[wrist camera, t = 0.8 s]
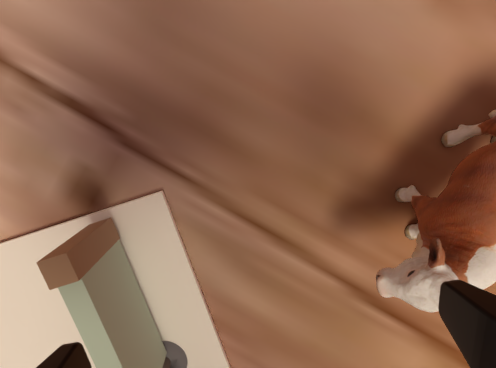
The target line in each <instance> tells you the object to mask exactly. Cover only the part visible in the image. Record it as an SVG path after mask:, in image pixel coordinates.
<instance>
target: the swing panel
mask: <svg viewBox="0 0 496 368" xmlns="http://www.w3.org/2000/svg"><path fill="white" fill-rule="evenodd" d="M119 239H120V237H119V234H118V232H117V229H116V227H115V225H114V222H113V220H112V218H111V217H110V218H107V219H104V220H101V221H98V222H95V223H92V224H89V225H88V226H86V227H85V228H84V229H82V230H81V231H79V232H78V233H77V234H75V235H74V236H72V237H71V238H70V239H68V240H67V241H65V242H64V243H63V244H61V245H60V246H58V247H57V248H56V249H54V250H53V251H52V252H50V253H49V254H47V255H46V256H45V257H43V258H42V259H40V260H39V261H38V262H36V263H37V265H38V267H39V269H40V271H41V274H42V276H43V278H44V280H45V282H46V284H47V286H48V288H49V290H52V289H55V288H58V289H59V292H60V294H61V296H62V298H63V300H64V302H65V304H66V306H67V308H68V310H69V312H70V314H71V317H72V319H73V321H74V323H75V325H76V327H77V329H78V331H79V333H80V335H81V337H82V339H83V342H84V344H85V346H86V348H87V350H88V352H89V354H90V356H91V358H92V360H93V362H94V364H95V367H96V368H163V364H164V361H165V357H166V354H167V351H166V349H165V347H164V344H163V342H162V340H161V337H160V335H159V333H158V330H157V328H156V326H155V323H154V321H153V318H152V316H151V314H150V311H149V309H148V307H147V304H146V302H145V300H144V297H143V295H142V293H141V290H140V288H139V286H138V283H137V281H136V278H135V276H134V274H133V271H132V269H131V267H130V264H129V262H128V260H127V257H126V255H125V253H124V250H123V248H122V245H121V243H120V241H119Z"/></svg>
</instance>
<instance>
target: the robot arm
mask: <svg viewBox="0 0 496 368" xmlns="http://www.w3.org/2000/svg"><path fill="white" fill-rule="evenodd" d="M438 308H439V313H440V316H441V318H442V320H443V322H444V323H445V325H446V327H447V328H448V330H449V332H450V334H451V335H452V337H453V339H454V340H455V342H456V344H457V346H458V347H459V349H460V351H461V353H462V354H463V356H464V358H465V359H466V361H467V363H468V365H469V366H470V368H496V295H494V294H492V293H489V292H487V291H485V290H482V289H480V288H478V287H476V286H473V285H471V284H469V283H467V282H464V281H462V280H451V281H445V282H443V283H442V284H441V287H440V296H439V306H438ZM36 368H92V367H91V363H90V361H89V359H88V356H87V354H86V352H85V349H84V347H83V345H82V344H81V343H80V342H73V343H67V344H63V345H61V346H60V347H59V348H57V349H56V350H55V351H54V352H53V353H52V354H51V355H50V356H48V357H47V358H46V359H45V360H44V361H43V362H42V363H41V364H40V365H38V366H37V367H36Z"/></svg>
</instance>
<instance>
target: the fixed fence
mask: <svg viewBox="0 0 496 368" xmlns="http://www.w3.org/2000/svg"><path fill="white" fill-rule="evenodd" d="M170 365H171V361H170V359H169V358H167V357H165V361H164V364H163V368H170Z"/></svg>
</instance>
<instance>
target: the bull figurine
mask: <svg viewBox="0 0 496 368" xmlns="http://www.w3.org/2000/svg"><path fill="white" fill-rule="evenodd" d="M489 117H490V118H491V119H488V120H486V121H484V122H482V123H479V124H477V125H470V126H466V125H464V124H462V125H459V126H458V129H456V130H452V131H447V132H445V133H444V135H443V137H442V143H443V145H444V146H445V147H452V146H454V145H457V144H459V143H461V142H463V141H465V140H467V139H468V138H470V137H473V136H476V135H482V134H491V135H493V138H492V139H491V144H489V145H486V146H484V147H481V148H479V149H478V150H476V151H474V152H472V153H471V154H470V155H468V156H467V157H466V158H465V159H464V160H463V161H461V162H460V163H459V165H458V166H457V167H456V169H455V170H454V172H453V173H452V175H451V177H450V180H449V182H448V185H447V187H446V189H445V190H444V191H443V192H442V193H441V194H440V195H439V197H438V198H436V197H433V198H430V197H428V196H425V195H421V194H420V193H419V192H418V191H417V190H416V187H415V186H414V185H410V186H409V187H408V188H400V189H398V190H397V191H396V193H395V198H396V200H397V201H398V202H410V201H412V207H413V208H414V209H415V213H416V217H417V219H418V224H415V225H413V224H411V225H408V226H407V228H406V230H405V235H406V237H407V238H409V239H411V240H412V239H416V242H417V245H416V248H415V251H414V252H413V253H412V258H409V259H407V260H405V261H403V262H402V263H401V264H400V265H398V266H397V267H396V268H393V269H392V268H383V269H381V270H379V271H378V272H377V275H376V285H377V289H378V291H379V293H380V295H381V296H383V297H387V298H389V297H393V296H394V297H397V298H400V299H402V300H404V301H405V302H407V303H408V304H410V305H412V306H414V307H416V308H417V309H419V310H423V311H427V312H437V311H439V308H438V306H439V296H440V287H441V284H442V283H443V282H445V281H451V280H462V281H464V282H467V283H469V284H471V285H473V286H476V287H478V288H480V289H482V290H483V289H485V288H487V287H489V286H491V285H492V284H494V283H495V282H496V110H493V111H492V112H490V113H489Z"/></svg>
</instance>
